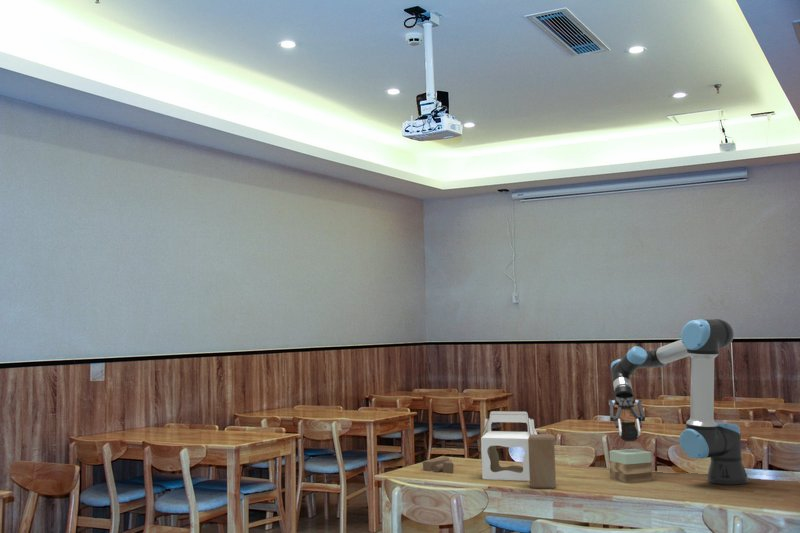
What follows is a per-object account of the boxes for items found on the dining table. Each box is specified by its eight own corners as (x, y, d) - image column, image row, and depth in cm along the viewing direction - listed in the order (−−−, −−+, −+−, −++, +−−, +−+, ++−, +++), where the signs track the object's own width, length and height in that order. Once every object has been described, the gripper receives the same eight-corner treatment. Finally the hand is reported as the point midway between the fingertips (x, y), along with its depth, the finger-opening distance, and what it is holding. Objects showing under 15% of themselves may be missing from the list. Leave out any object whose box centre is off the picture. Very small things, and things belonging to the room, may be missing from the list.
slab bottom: (652, 482, 333) (651, 472, 333) (626, 484, 329) (625, 474, 330) (635, 477, 344) (635, 468, 345) (610, 480, 341) (609, 470, 341)
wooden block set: (421, 459, 375) (444, 454, 389) (421, 471, 374) (444, 466, 388) (451, 461, 364) (474, 456, 378) (452, 474, 364) (474, 469, 378)
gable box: (481, 479, 348) (479, 412, 350) (490, 474, 360) (487, 409, 362) (533, 481, 339) (530, 413, 342) (540, 476, 351) (537, 410, 354)
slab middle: (652, 472, 334) (651, 462, 334) (626, 474, 330) (626, 464, 330) (634, 468, 345) (634, 458, 345) (610, 470, 341) (609, 460, 341)
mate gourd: (636, 442, 333) (634, 417, 334) (617, 441, 337) (616, 417, 338) (640, 440, 340) (638, 415, 341) (622, 439, 343) (620, 415, 344)
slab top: (651, 462, 334) (651, 452, 334) (625, 464, 330) (625, 454, 330) (634, 458, 345) (634, 448, 345) (609, 460, 341) (609, 450, 342)
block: (555, 488, 322) (553, 437, 323) (529, 488, 324) (527, 437, 325) (556, 484, 331) (553, 434, 333) (531, 483, 333) (529, 434, 335)
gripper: (646, 396, 354) (654, 439, 336) (599, 396, 356) (604, 439, 339) (647, 384, 349) (655, 427, 331) (600, 385, 352) (605, 427, 334)
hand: (630, 433), depth 335 cm, fingers closed on mate gourd, 7 cm apart
